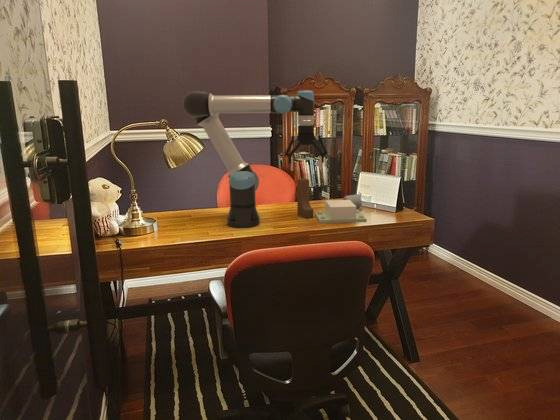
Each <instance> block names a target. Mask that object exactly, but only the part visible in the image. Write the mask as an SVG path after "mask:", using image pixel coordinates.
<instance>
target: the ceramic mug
mask: <svg viewBox="0 0 560 420" xmlns="http://www.w3.org/2000/svg"><path fill="white" fill-rule="evenodd" d="M342 200H350V201H351V202H352V203H353V204H354V205H355V206H356V210H359V212H361V209H362V203H363V202H362V201H363V200H362V198H361V195H360V194H357V193H356V194H351V195H345V196H344V197H343V198H342Z"/></svg>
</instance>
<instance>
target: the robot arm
mask: <svg viewBox="0 0 560 420" xmlns="http://www.w3.org/2000/svg"><path fill="white" fill-rule="evenodd" d="M182 109H183V111H184V112H185V113H186V114H185V115H187V116H189V117H190V118H193V119H194V121H195V122H196V124H197V126H198V127H199V126H200V127H202V128H203V130H204V132H205V133H206V135H207V137H208V138H209V140H210V141H211V143H212V145H213V147H214V149H215V150H216V151H217V154H218V156H219V157H220V158H221V160H222V163H223V164H224V166H225V167H226V169H227V177H228V184H229V185H228V186H229V211H228V213H227V214H228V215H227V218H226V225H227V226H229V227H232V228H237V229H241V228H242V229H245V228H252V227H257V226H258V225H260V223H261V222H260V221H261V220H260V216H259V213H258V210H257V205H256V202H257V201H256V191H257V190H258V188H259V185H260V181H259V176H258V174H257V173H256V171H254V170H253V168H252V167H251V165H250V164H249V163H248V162H245V161H244V160H243V158H242V156H241V154H240V152H239V151H238V149H237V147H236V146H235V144H234V142H233V140H232V139H231V137H230V136H229V134H228V131H227V130H226V128H225V127H224V126H223V123H222V122H221V120H220V118H219V116H220V114H280V115H281V114H287V113H297V124H298V126H297V135H291V137H290V141H289V143H288V146H287V148H286V150H285V152H284V156H286V157H287V158H288V160H287V161H288V164H289V165H290V171H291V172H293V171H294V158H293V156H294V153H295V152H296V151H297V150H298V149H299V147H301V145H302V146H310V145H311V146H312V147H314V150H316V151H317V152H318V154H319V155H318V170H319V171H322V169H323V168H322V165H323V164H324V162H325V161H324V160H325V159H324V158H325V156H326V155H329V153H328V151H327V149H326V146H325V145H324V142H323V141H322V136H321V135H320V134H317V135H315V93H314V91H313V90H298V91H297V94H295V95H294V94H293V95H290V94H289V95H286V94H278V95H277V94H275V95H269V94H268V95H266V94H265V95H263V94H262V95H258V94H256V95H246V94H245V95H213V93H212V92H211V93H210V92H206V91H203V90H198V91H197V90H196V91H195V90H194V91H193V90H192V91H189V92H188V93H186V95H185V96H184V97H183V99H182ZM315 139H316V140H317V142H318V143H319V145H320V148H321V150H320V148H319V147H318V146H317V145H316V143H315V142H314V141H315ZM296 140H297V141H298V142H297V143H296V144H295V146H294V147H293V148H292V146H293V144H294V142H295V141H296ZM291 148H292V149H291ZM290 150H291V151H290Z"/></svg>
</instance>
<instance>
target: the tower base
mask: <svg viewBox="0 0 560 420" xmlns="http://www.w3.org/2000/svg"><path fill="white" fill-rule="evenodd" d="M324 204H325V207H324V208H325V210H324V212H323V210H317V212H314V217H315V218H316V219H317V222H318V224H340V223H343V224H344V223H367V222H368V221H367V220H368V219H367V218H366V216H365V215H364V214H362V212H361V211H359V210H358V209H356V206H355V205H354V204H353V203H352V202H351V201H350V200H343V199H331V200H330V199H329V200H328V199H327V200H325V203H324Z"/></svg>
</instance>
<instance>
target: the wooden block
mask: <svg viewBox="0 0 560 420" xmlns="http://www.w3.org/2000/svg"><path fill="white" fill-rule="evenodd" d="M296 182H297V185H296V186H297V190H296V191H297V193H296V194H297V204H296V205H297V215H298V216H299V217H301V218H304V219H305V220H307V219H313V218H314V208H313V207H312V206H311V204H310V180H309V179H308V178H305V177H304V178H298V179H297V181H296Z"/></svg>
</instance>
